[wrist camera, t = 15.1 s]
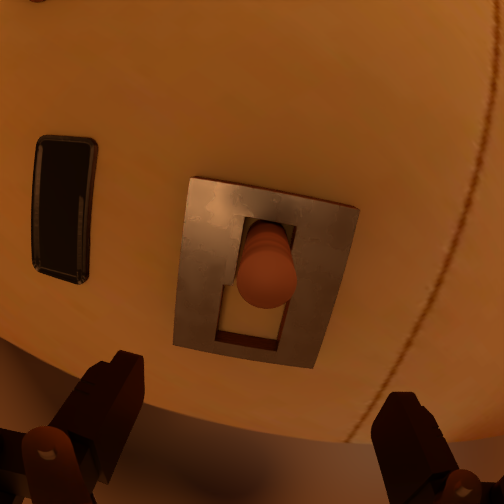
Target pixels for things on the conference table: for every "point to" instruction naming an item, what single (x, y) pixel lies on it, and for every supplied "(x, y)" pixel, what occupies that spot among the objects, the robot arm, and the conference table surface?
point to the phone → (62, 206)
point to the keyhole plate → (225, 263)
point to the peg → (266, 266)
